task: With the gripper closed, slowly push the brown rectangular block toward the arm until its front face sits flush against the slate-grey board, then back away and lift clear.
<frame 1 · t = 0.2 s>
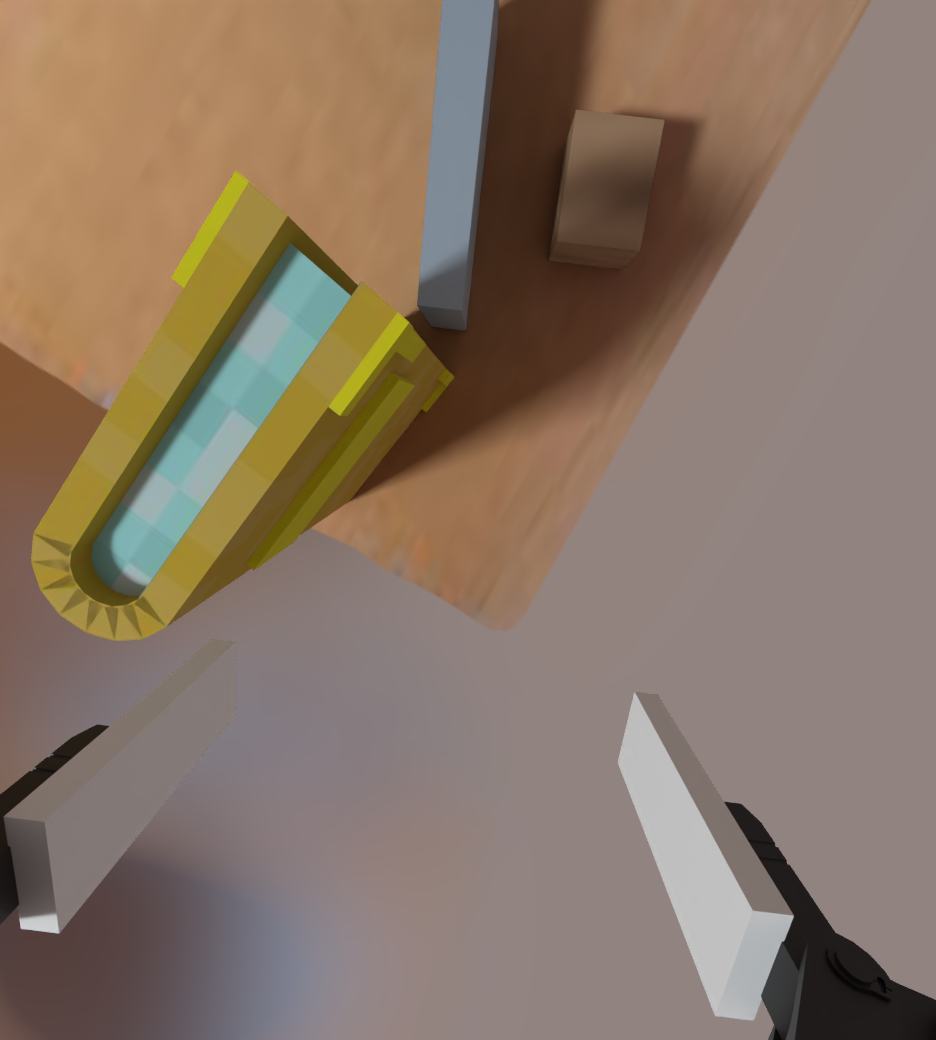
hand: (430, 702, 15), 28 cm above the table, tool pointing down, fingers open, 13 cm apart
brown rectangular block: (593, 210, 36), on the table
yellow rounded trough: (365, 428, 40), on the table
slate board: (461, 193, 36), on the table
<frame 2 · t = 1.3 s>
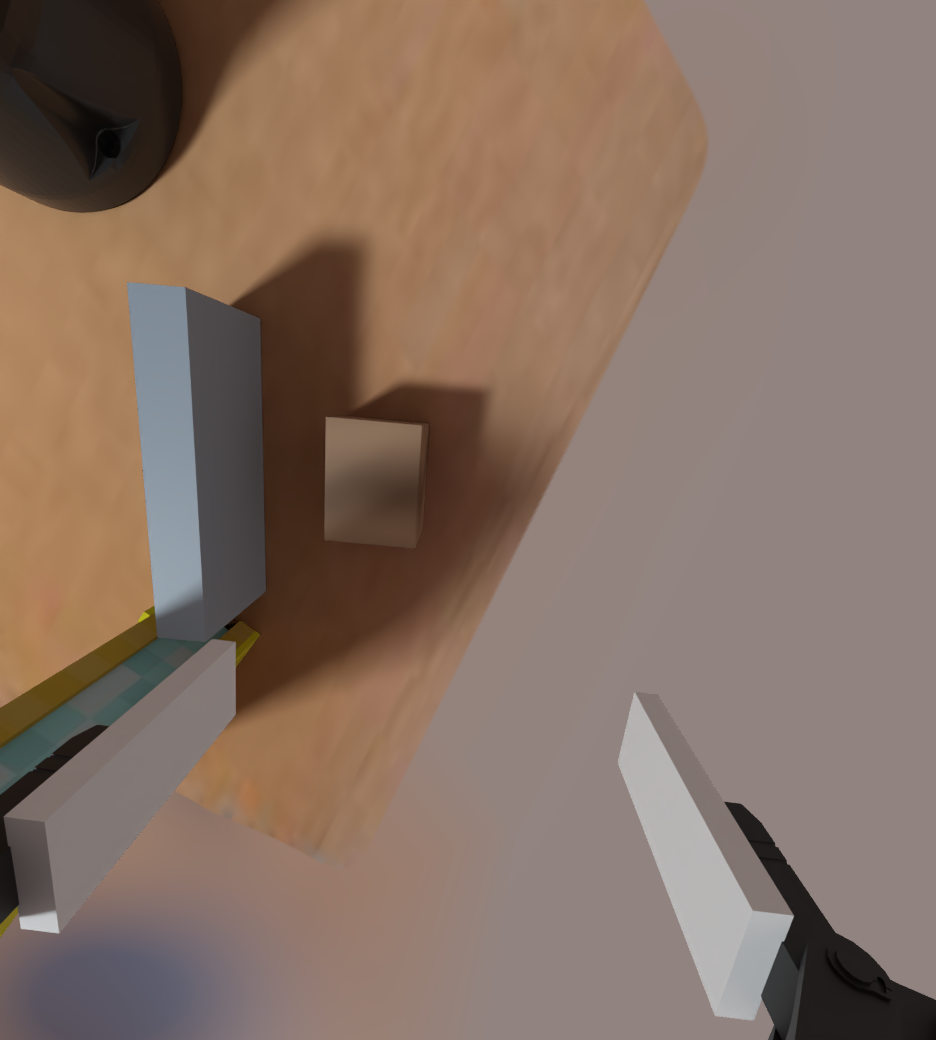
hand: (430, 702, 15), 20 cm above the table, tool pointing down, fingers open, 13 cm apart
brown rectangular block: (386, 475, 33), on the table
yellow rounded trough: (175, 681, 38), on the table
slate board: (243, 462, 33), on the table
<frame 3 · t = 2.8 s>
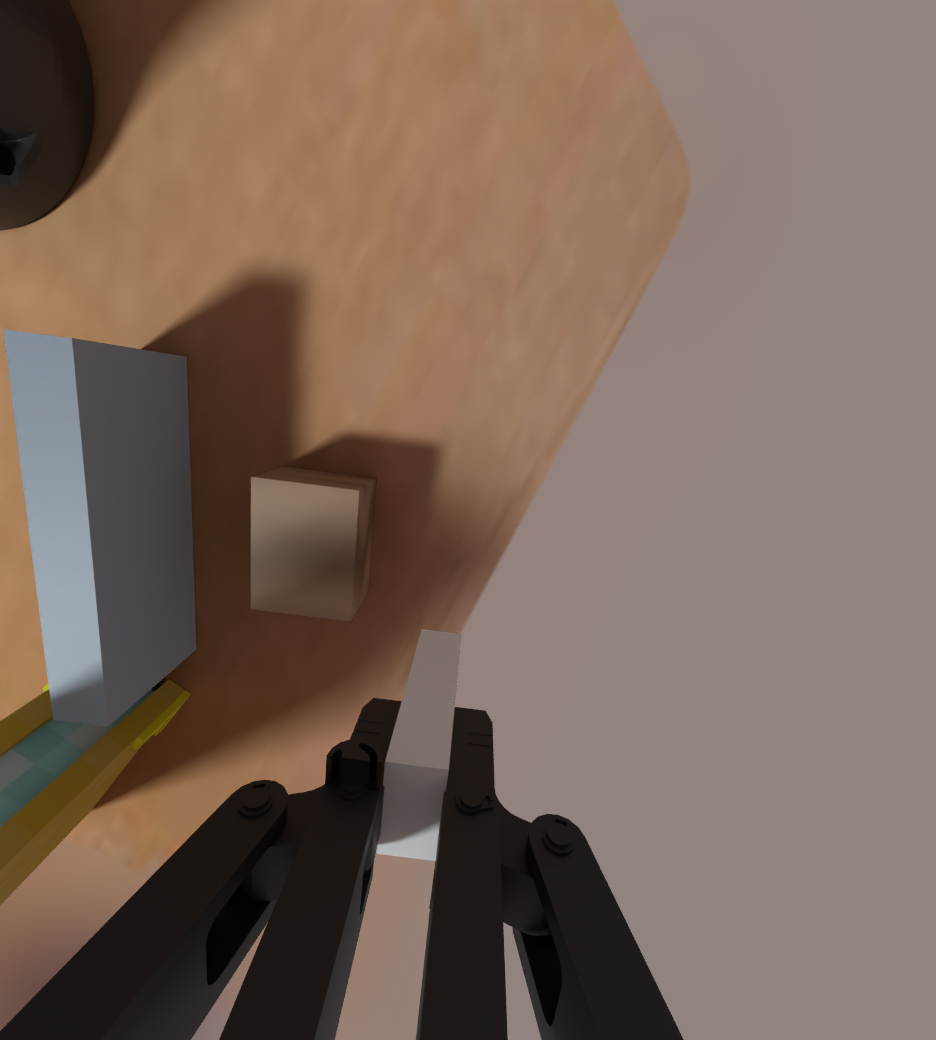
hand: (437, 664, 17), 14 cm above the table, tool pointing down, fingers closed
brown rectangular block: (328, 530, 30), on the table
yellow rounded trough: (98, 739, 35), on the table
slate board: (169, 512, 30), on the table
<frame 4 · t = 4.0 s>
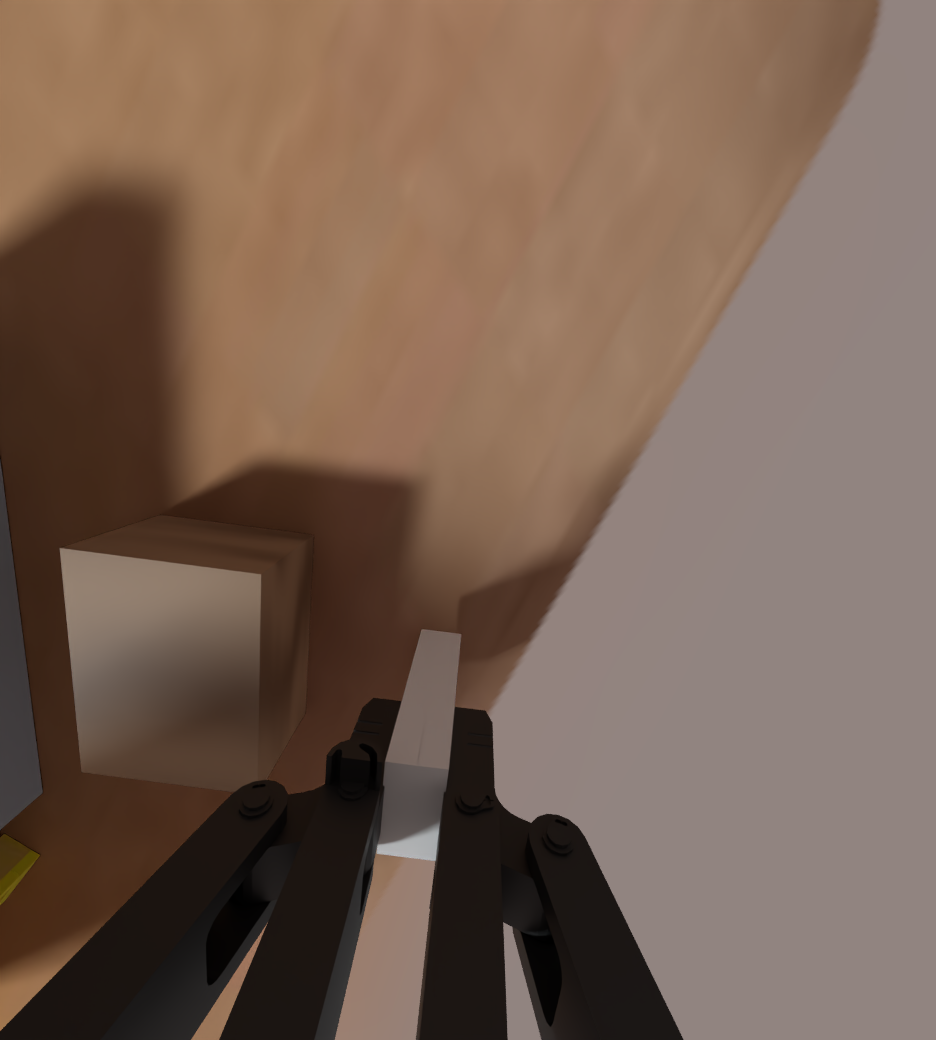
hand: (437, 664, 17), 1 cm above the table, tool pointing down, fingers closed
brown rectangular block: (239, 616, 19), on the table
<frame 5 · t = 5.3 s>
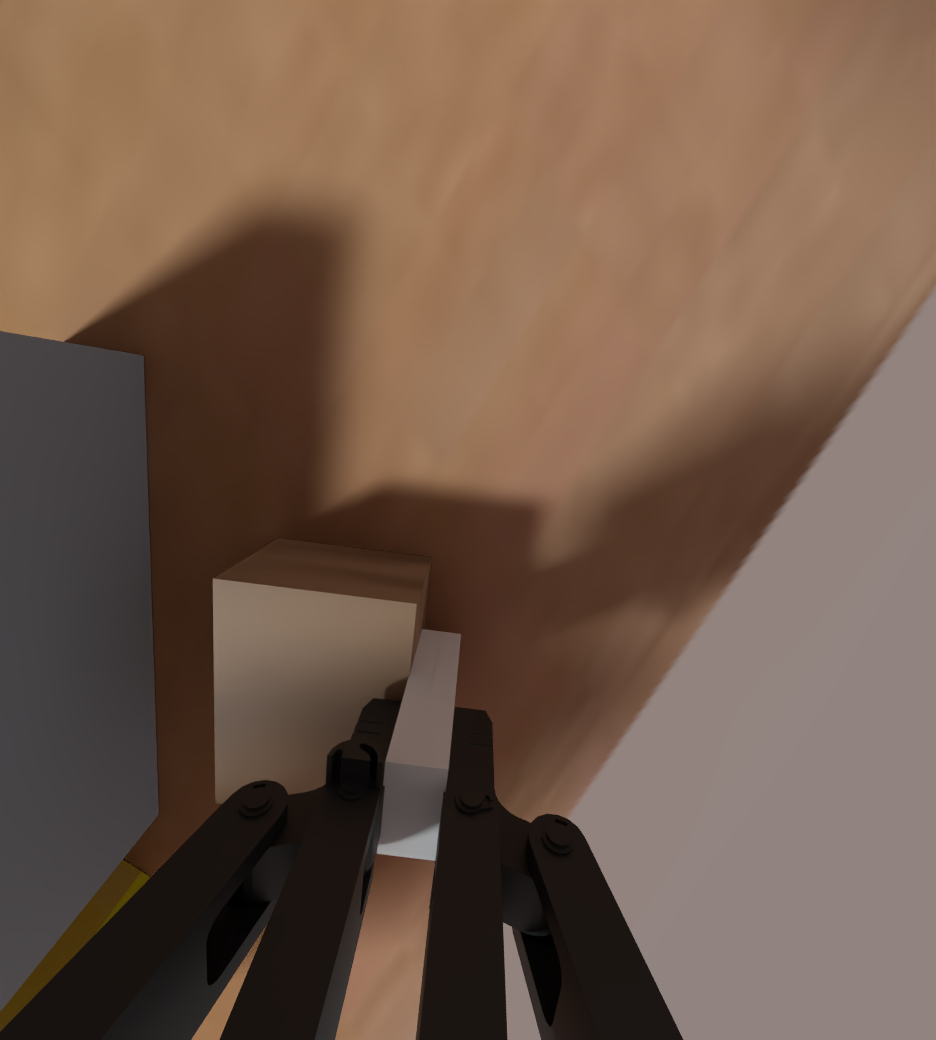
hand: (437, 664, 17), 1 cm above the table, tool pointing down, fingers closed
brown rectangular block: (349, 639, 19), on the table, touching gripper
yellow rounded trough: (10, 933, 23), on the table
slate board: (115, 609, 18), on the table
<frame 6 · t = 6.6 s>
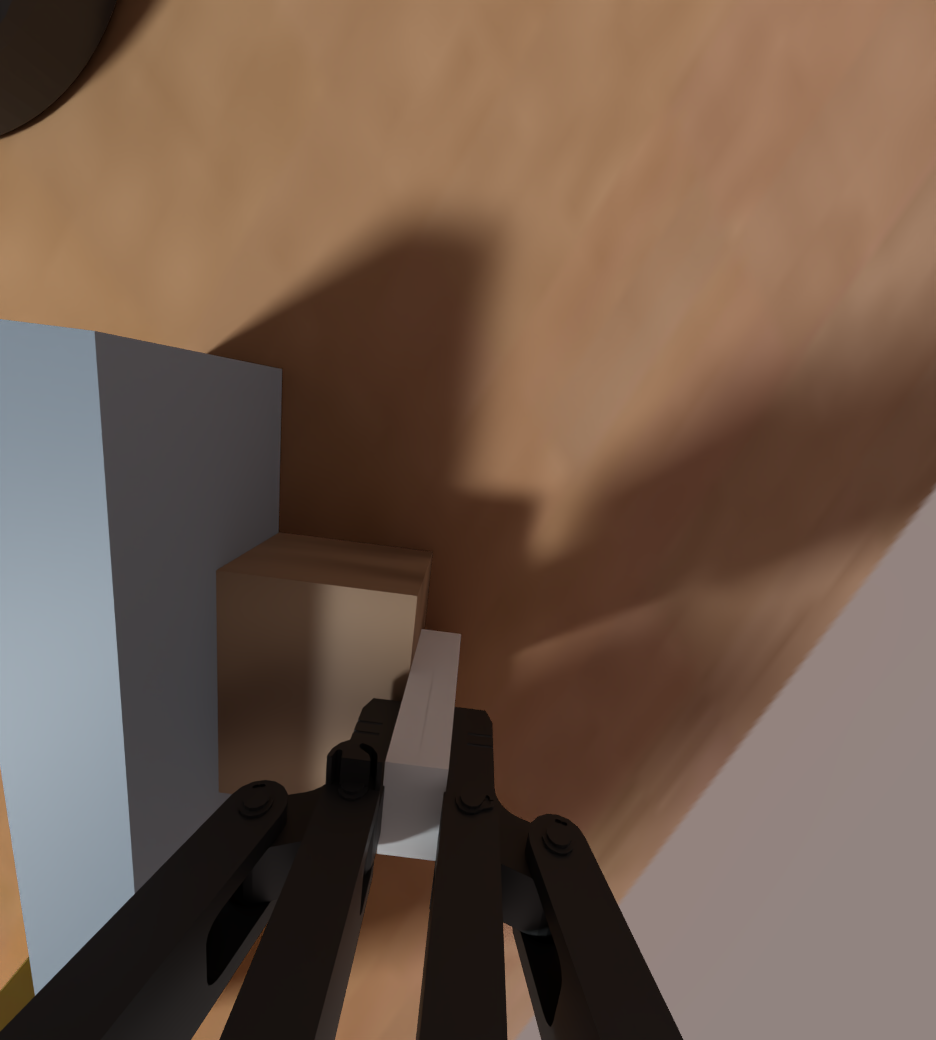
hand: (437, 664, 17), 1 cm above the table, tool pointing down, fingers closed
brown rectangular block: (351, 632, 19), on the table, touching gripper, slate board
yellow rounded trough: (116, 940, 23), on the table
slate board: (239, 620, 18), on the table
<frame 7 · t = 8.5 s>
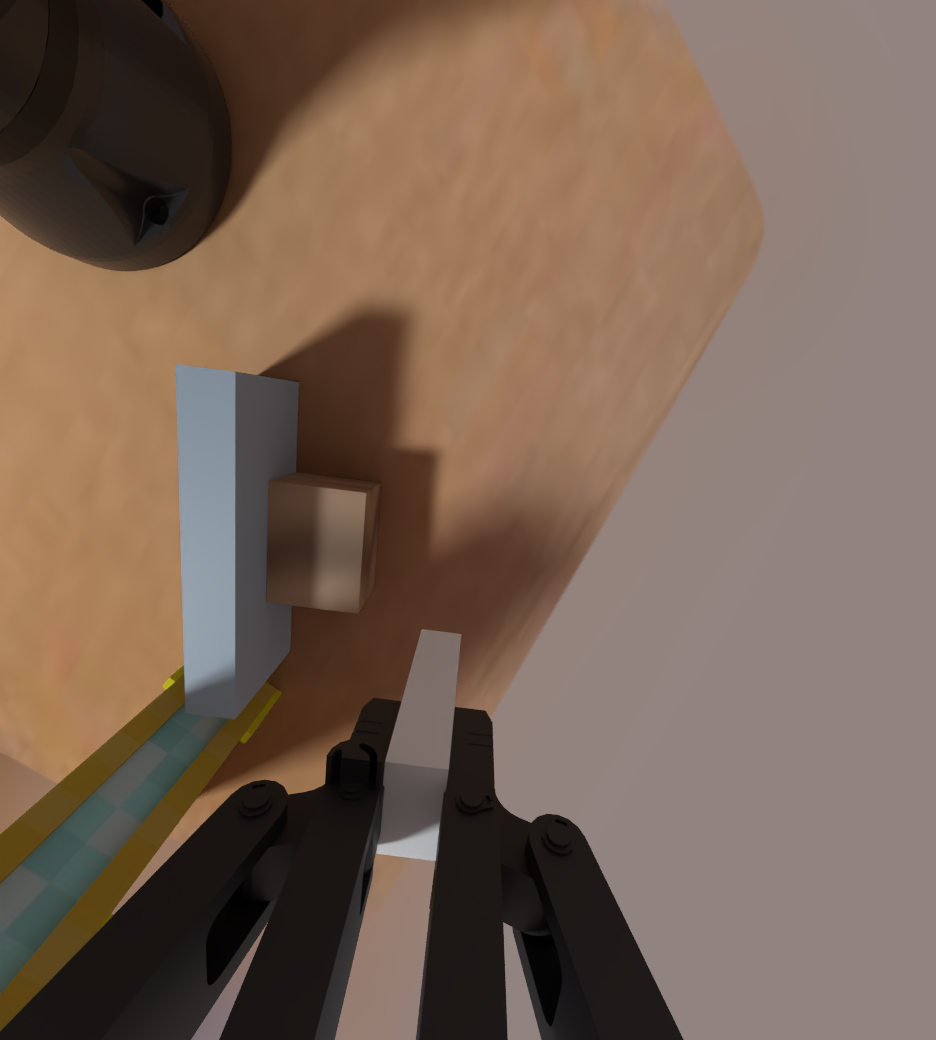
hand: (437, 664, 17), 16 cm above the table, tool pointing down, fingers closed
brown rectangular block: (337, 531, 33), on the table
yellow rounded trough: (192, 735, 37), on the table
slate board: (273, 523, 33), on the table
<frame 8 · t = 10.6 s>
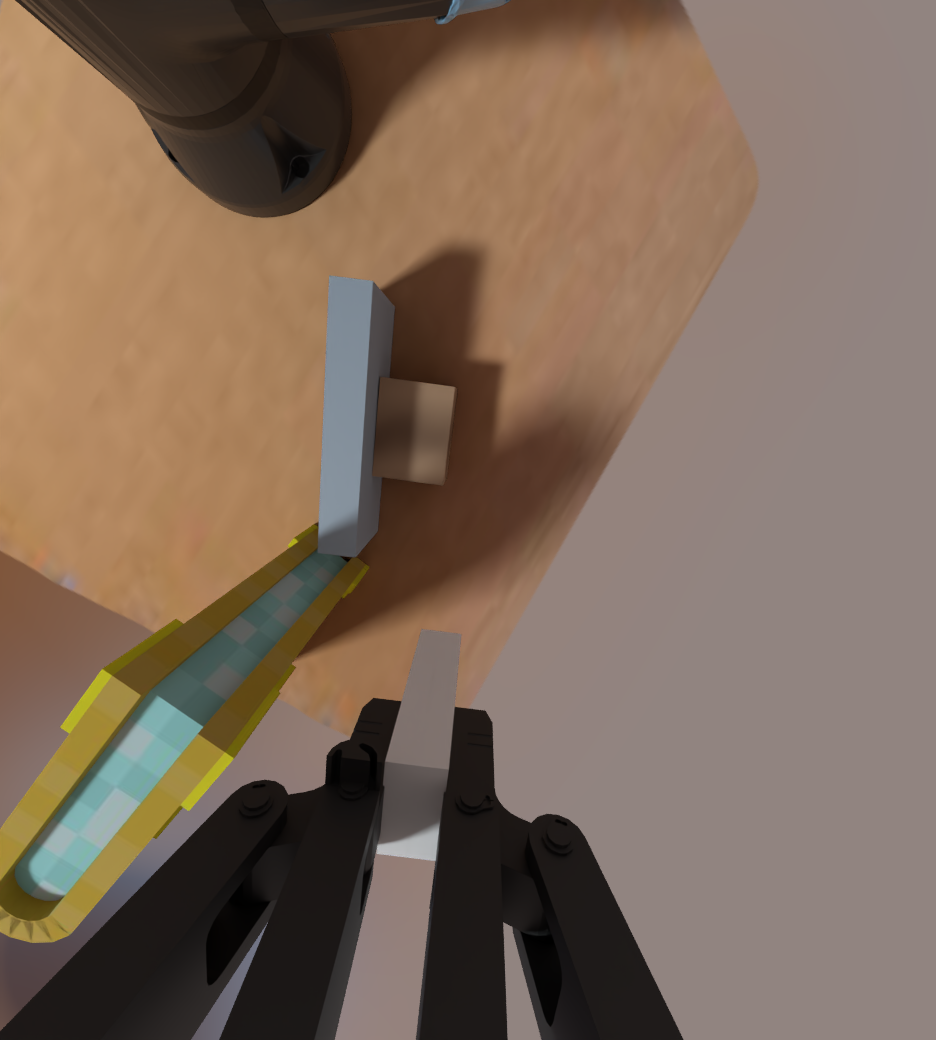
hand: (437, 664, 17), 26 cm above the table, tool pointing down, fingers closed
brown rectangular block: (419, 430, 41), on the table
yellow rounded trough: (293, 605, 46), on the table
slate board: (369, 423, 41), on the table
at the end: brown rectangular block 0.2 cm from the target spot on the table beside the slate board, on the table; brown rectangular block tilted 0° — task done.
